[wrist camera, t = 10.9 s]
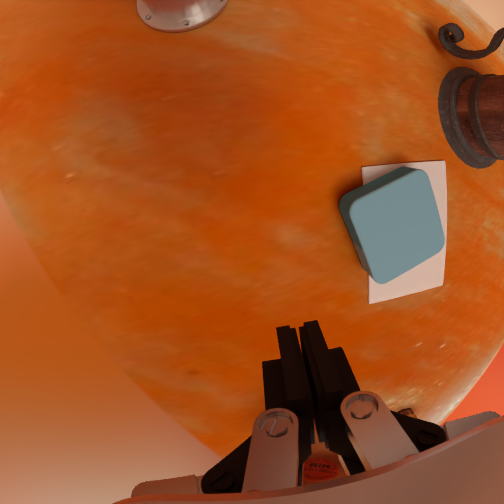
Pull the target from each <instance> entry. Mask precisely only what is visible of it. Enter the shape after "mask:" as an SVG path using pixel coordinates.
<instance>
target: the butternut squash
mask: <svg viewBox="0 0 504 504" xmlns="http://www.w3.org/2000/svg"><path fill="white" fill-rule="evenodd" d="M314 432H315V444H311V449H312V454H311V455H310V456H309V458H308V459H307V460H306V461H305V462H304V463H303V465H304V470H303V486H304V485H310V484H315V483H320V482H325V481H330V480H335V479H339V478H343V477H347V475H346V473H345V471H344V469H343V467H342V465H341V462H340V460H339V458H338V454H336V453H334V452H332V451H330V450H329V448H328V449H326V446H325V442H321V443H319V440H318V435H317V431H316V426H315V422H314Z"/></svg>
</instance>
